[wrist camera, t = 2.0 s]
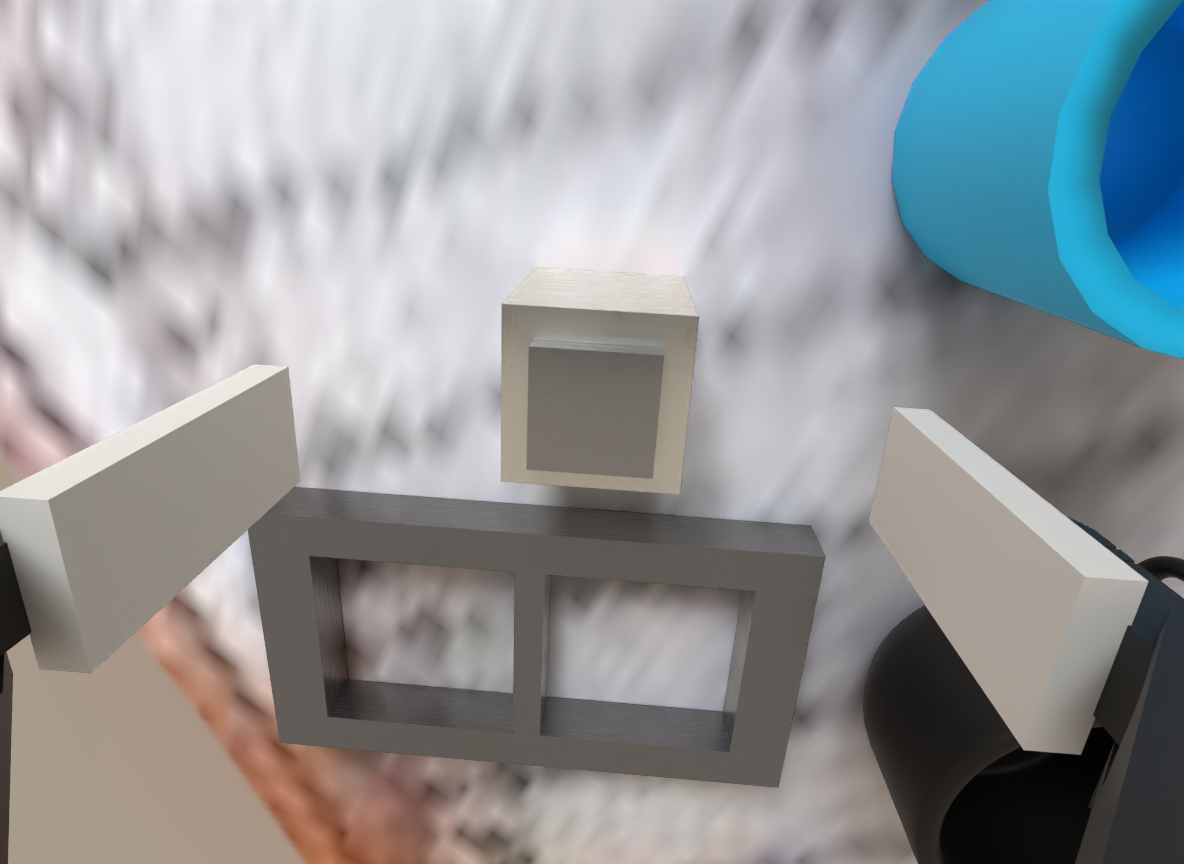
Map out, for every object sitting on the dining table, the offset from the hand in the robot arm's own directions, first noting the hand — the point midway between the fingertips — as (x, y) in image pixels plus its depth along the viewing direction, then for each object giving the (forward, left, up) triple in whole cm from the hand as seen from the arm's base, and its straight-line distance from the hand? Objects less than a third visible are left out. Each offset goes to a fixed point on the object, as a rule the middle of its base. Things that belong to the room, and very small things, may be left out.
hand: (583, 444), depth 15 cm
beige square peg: (0, 0, -8) cm, 8 cm away
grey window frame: (+11, -2, -8) cm, 13 cm away
